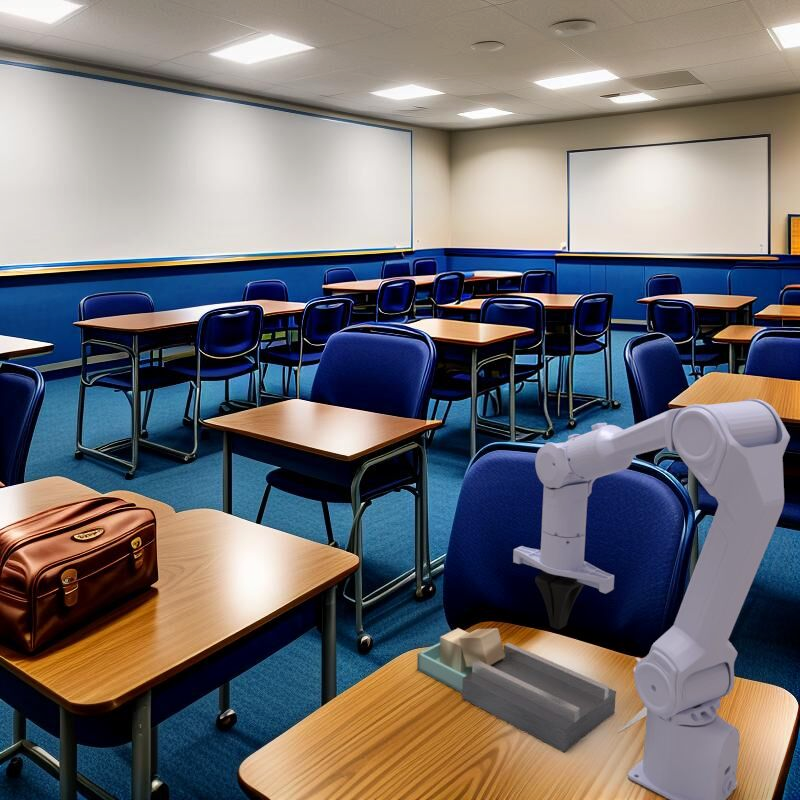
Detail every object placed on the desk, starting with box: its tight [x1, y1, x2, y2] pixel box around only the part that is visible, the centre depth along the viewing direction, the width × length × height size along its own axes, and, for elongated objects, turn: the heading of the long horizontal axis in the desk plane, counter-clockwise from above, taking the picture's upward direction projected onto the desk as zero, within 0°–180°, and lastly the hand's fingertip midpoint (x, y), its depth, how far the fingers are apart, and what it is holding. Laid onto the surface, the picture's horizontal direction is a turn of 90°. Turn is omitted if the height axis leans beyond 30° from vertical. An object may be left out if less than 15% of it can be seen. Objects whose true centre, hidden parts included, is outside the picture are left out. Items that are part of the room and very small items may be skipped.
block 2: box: [459, 627, 505, 667], centre depth 105 cm, size 4×4×4 cm
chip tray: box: [416, 642, 504, 694], centre depth 107 cm, size 9×10×2 cm
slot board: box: [461, 642, 617, 753], centre depth 98 cm, size 16×12×4 cm
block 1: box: [439, 627, 470, 673], centre depth 108 cm, size 4×4×4 cm
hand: (558, 625), depth 101 cm, fingers closed
